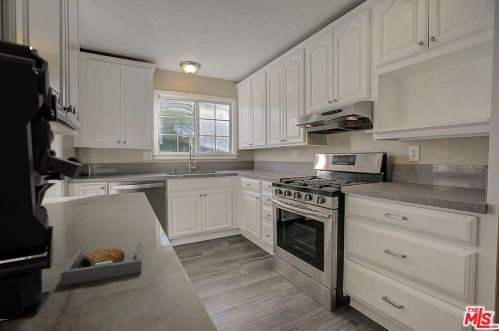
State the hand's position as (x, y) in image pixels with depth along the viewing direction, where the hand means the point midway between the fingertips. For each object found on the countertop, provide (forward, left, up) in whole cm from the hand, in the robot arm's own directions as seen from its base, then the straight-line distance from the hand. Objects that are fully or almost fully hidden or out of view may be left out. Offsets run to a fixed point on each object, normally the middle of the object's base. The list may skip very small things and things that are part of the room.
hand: (33, 216), depth 51 cm
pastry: (-2, -13, -12) cm, 18 cm away
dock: (-3, -14, -12) cm, 19 cm away
